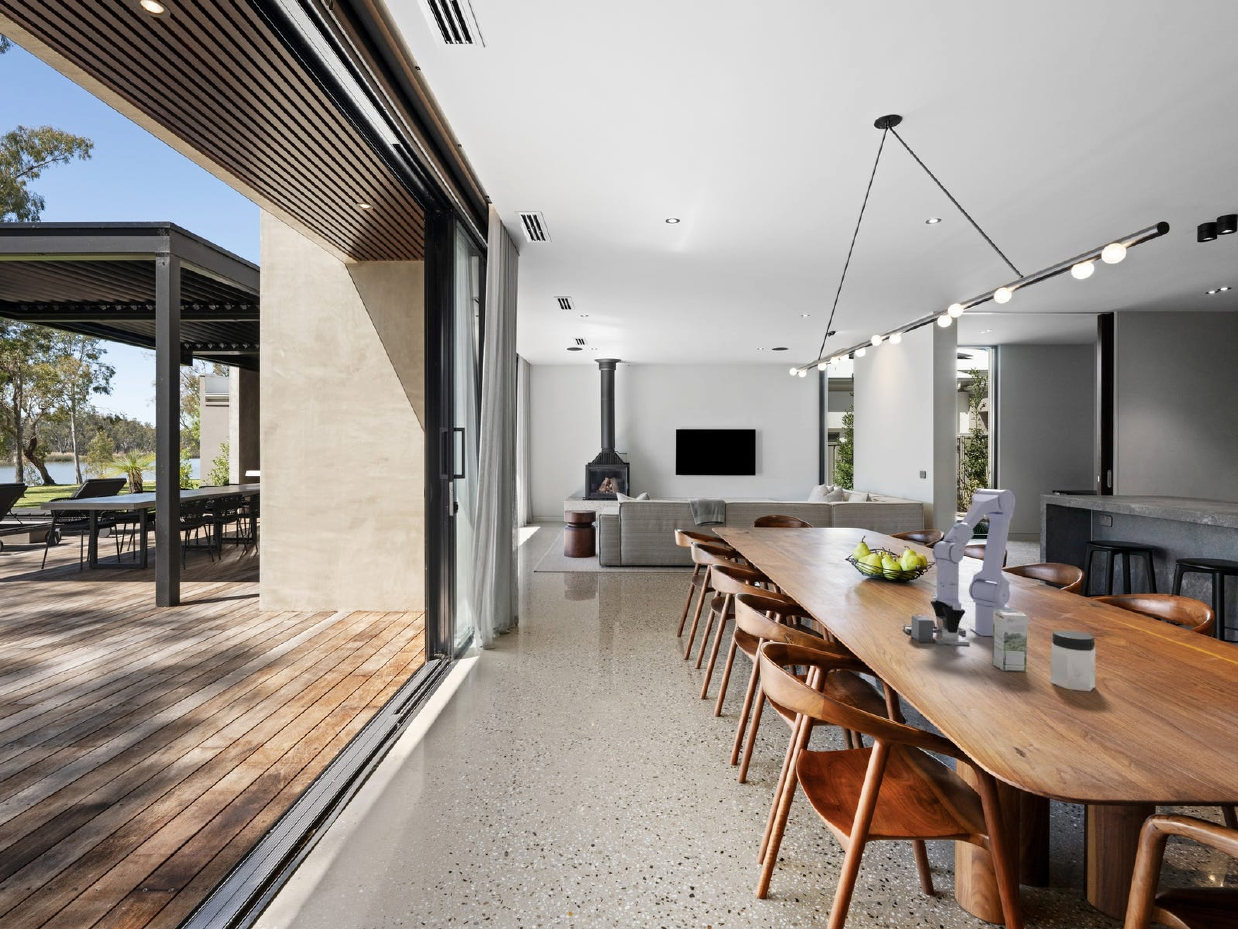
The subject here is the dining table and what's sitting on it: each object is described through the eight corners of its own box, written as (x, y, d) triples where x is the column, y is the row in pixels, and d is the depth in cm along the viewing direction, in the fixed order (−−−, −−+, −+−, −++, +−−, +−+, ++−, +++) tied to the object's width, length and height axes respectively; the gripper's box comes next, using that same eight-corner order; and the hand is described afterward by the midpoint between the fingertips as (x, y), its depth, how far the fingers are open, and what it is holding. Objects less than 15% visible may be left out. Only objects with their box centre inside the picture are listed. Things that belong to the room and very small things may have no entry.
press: (960, 631, 198) (960, 610, 198) (981, 646, 183) (982, 623, 183) (903, 630, 200) (903, 609, 200) (920, 644, 185) (920, 621, 185)
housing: (952, 635, 191) (952, 614, 191) (958, 639, 186) (958, 618, 186) (936, 634, 191) (936, 614, 191) (942, 639, 187) (942, 618, 187)
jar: (1056, 689, 150) (1057, 637, 149) (1045, 677, 157) (1045, 628, 157) (1102, 693, 147) (1102, 641, 147) (1088, 681, 155) (1088, 631, 155)
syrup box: (1015, 665, 167) (1015, 609, 167) (1027, 672, 161) (1028, 614, 161) (991, 664, 167) (992, 608, 167) (1003, 671, 161) (1003, 614, 161)
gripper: (924, 577, 196) (923, 622, 196) (943, 587, 182) (942, 635, 182) (948, 578, 195) (948, 623, 195) (969, 588, 181) (968, 636, 181)
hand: (947, 629), depth 189 cm, fingers open, 7 cm apart
